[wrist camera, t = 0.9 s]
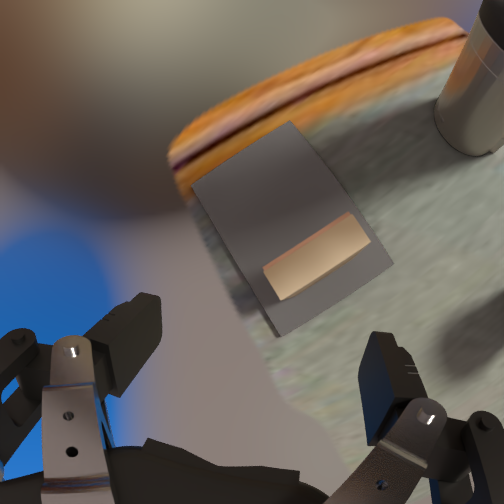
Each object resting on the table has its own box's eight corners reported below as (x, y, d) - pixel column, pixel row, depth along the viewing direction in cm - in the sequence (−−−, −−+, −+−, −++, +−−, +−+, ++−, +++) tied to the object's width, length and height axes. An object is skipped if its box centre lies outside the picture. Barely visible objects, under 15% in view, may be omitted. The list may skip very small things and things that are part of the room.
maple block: (352, 259, 31) (371, 241, 19) (295, 296, 31) (280, 300, 20) (339, 238, 31) (349, 210, 20) (282, 275, 32) (260, 268, 20)
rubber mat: (393, 264, 30) (394, 263, 30) (281, 336, 32) (281, 337, 31) (290, 122, 34) (289, 120, 34) (192, 186, 36) (190, 185, 36)
